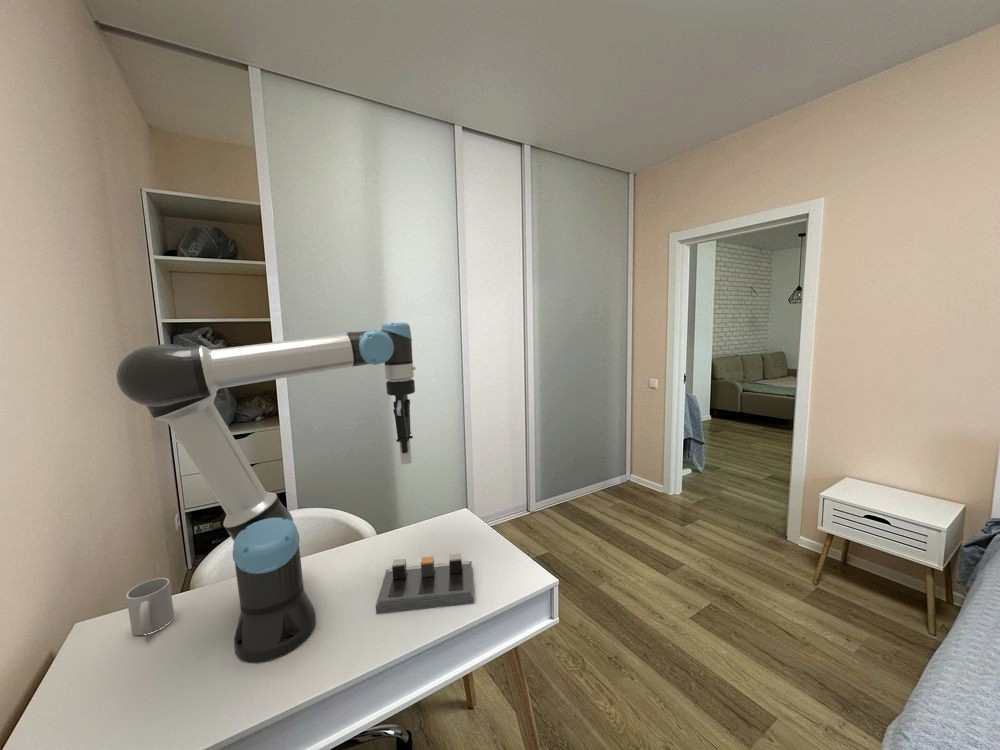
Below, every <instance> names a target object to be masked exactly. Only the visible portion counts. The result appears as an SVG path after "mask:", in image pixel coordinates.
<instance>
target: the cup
mask: <svg viewBox="0 0 1000 750" xmlns="http://www.w3.org/2000/svg"><path fill="white" fill-rule="evenodd" d="M170 584H171V583H170V579H168V578H167V577H158V578H153V579H150V580H146V581H144V582H141V583H139V584H137V585H135V586H134V587H132V588H131V589H130V590H129V591H128V592H127V593H126V595H125V598H126V603H127V610H128V615H129V616H128V617H129V621H130V628H131V632H132V634H133V635H134V636H136V635H144V634H148V633H151V632H154V631H156V630H159V629H160V628H162V627H164V626H165V625H166V624H168V623H169V622H170V621H171V620H172V618H173V617H174V618H175V611H174V603H173V598H172V597H173V596H172V589H171V585H170ZM174 618H173V619H174ZM172 621H173V620H172ZM172 621H171V622H172Z"/></svg>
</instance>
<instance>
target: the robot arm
mask: <svg viewBox="0 0 1000 750" xmlns="http://www.w3.org/2000/svg"><path fill="white" fill-rule="evenodd" d="M412 341H413V338H412V333H411V327H410V325H409V323H407V322H385V323H382V324H381V329H380V330H377V329H372V330H366V331H346V332H338V333H336V334H333V335H324V336H317V337H307V338H299V339H291V340H281V341H273V342H265V343H257V344H250V345H249V344H248V345H241V346H234V347H233V346H232V347H226V348H225V347H224V348H216V349H210V348H208V347H206V346H204V345H194V346H184V347H183V346H182V345H178V344H171V343H170V344H167V343H166V344H165V343H164V344H162V343H161V344H159V345H158V344H156V345H147V346H144V347H140V348H138V349H135V350H133V351H131V352H130V353H128V354H127V355H126V356H125V357H124V358H123V359H122V360H121V362H119V365H118V367H117V371H116V382H117V385H118V387H119V389H120V391H121V392H122V394H124V395H125V396H126V397H127V398H128V399H130V400H131V401H132V402H135V403H137V404H139V405H143V406H145V407H146V408H147V411H149V413H150V414H151V416H152V417H153V419H154V420H157V421H161V422H165V423H168V425H169V427H170V429H171V430H172V431H173V433H174V435H175V436H176V438H177V439H178V441H179V442H180V444H181V445H182V447H183V449H184V451H185V452H186V454H187V455H188V456H189V458H190V459H191V461H192V463H193V464H194V466H195V467H196V469H197V471H198V472H199V473H200V476H202V478H203V480H204V481H205V483H206V485H207V486H208V488H209V489H210V491H211V492H212V494H213V496H214V497H215V498H216V500H217V502H218V503H219V505H220V506H221V508H222V509H223V511H224V513H225V514H226V515H225V518H224V519H223V523H222V524H223V527H224V528H225V529H226V531H227V533H228V535H229V537H230V538H231V539H232V541H233V545H232V546H233V547H232V559H233V562H234V567H235V573H236V582H237V584H236V585H237V589H238V590H237V591H238V598H239V605H240V606H239V607H240V612H239V613H240V614H239V616H238V617H239V618H238V622H237V625H236V629H235V633H234V637H233V646H234V651H235V655H236V657H237V658H238V659H239V660H241V661H243V662H247V663H264V662H269V661H272V660H275V659H277V658H281V657H282V656H285V655H287V654H288V653H290V652H292V651H294V650H295V649H297V648H299V647H300V646H301V645H302V644H303V643H305V641H306V640H307V639H308V638H309V637H310V636H311V635H312V633H314V630H315V627H316V624H317V616H316V611H315V610H316V609H315V608H314V605H313V604H312V602H311V600H310V598H309V596H308V595H307V593H306V591H305V588H304V581H303V579H304V577H303V569H302V560H301V551H300V542H301V541H300V534H299V533H300V532H299V531H298V527H297V525H296V524H295V522H294V518H293V516H292V514H291V512H290V511H289V510H288V509H287V507H285V506H284V505H283V503H282V502H281V500H280V498H279V497H278V495H277V494H276V493H275V492H269V491H266V490H265V488H264V486H263V484H262V483H261V481H260V479H259V478H258V476H257V474H256V472H255V470H253V467H252V466H251V464H250V463H249V461H248V459H247V457H246V456H245V454H244V452H243V451H242V449H241V447H240V446H239V444H238V443H237V440H236V439H235V437H234V435H233V434H232V432H231V430H230V429H229V427H228V425H227V423H225V420H224V419H223V417H222V415H221V413H220V412H219V410H218V409H217V407H216V406H215V404H214V402H215V400H216V396H217V394H218V393H217V392H218V390H220V389H224V388H231V387H237V386H243V385H249V384H255V383H260V382H267V381H275V380H279V379H280V380H281V379H285V378H291V377H292V378H293V377H299V376H304V375H311V374H317V373H322V372H327V371H328V372H329V371H334V370H340V369H347V368H353V367H359V366H366V365H367V366H368V365H373V366H374V365H375V366H376V365H382V364H384V374H385V379H386V380H387V381H386V382H385V383H386V384H385V385H386V394H387V396H394V397H395V401H393V415H394V420H395V427H396V428H395V429H396V434H397V435H396V437H397V439H396V441H395V442H396V443H399V454H400V464H401V465H407V464H412V462H413V461H412V449H411V446H412V445H411V439H413V437H414V436H413V435H411V434H412V432H411V410H410V409H411V400H410V399H411V398H409V397H408V396H409V395H411V394H414V393H415V392H416V387H415V385H416V384H415V380H414V379H413V378H415V377H414V376H415V375H414V374H415V373H414V371H415V370H416V367H415V366H414V364H413V363H414V361H413V345H412V344H413V342H412ZM408 398H409V399H408Z"/></svg>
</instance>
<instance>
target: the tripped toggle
mask: <svg viewBox="0 0 1000 750" xmlns="http://www.w3.org/2000/svg"><path fill="white" fill-rule="evenodd" d="M420 559H421V561H420V566H421V574H422V577H428V576H434V565H435V558H434V556H424V557H421V558H420Z"/></svg>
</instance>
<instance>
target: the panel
mask: <svg viewBox="0 0 1000 750" xmlns="http://www.w3.org/2000/svg"><path fill="white" fill-rule="evenodd" d="M448 556H449V557H448V562H447V563H446V562H445V563H438V564H435V563H434V576H428V577H422V574H421V565H418V566H407V558H400V559H399V558H398V559H397V558H396V559H393V560H392V564H391V568H387V569H386V570H385V572H384V573H385V574H384V577H383V580H382V582H381V583H382V584H381V586H380V589H379V594H378V596H377V599H376V603H375V615H378V614H390V613H397V612H398V613H399V612H406V611H407V612H408V611H416V610H426V609H435V608H446V607H455V606H456V607H457V606H465V605H473V604H475V603H474V600H475V599H474V590H473V589H474V586H473V584H474V582H473V568H472V567H473V565H472V564H473V563H472V560H466V561H463V560H462V558H463V557H462V553H452V554H449V555H448Z"/></svg>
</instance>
